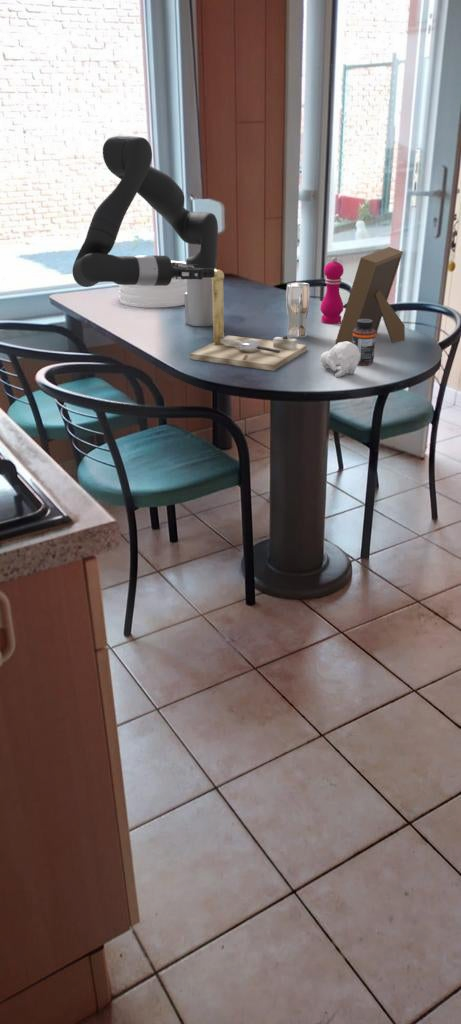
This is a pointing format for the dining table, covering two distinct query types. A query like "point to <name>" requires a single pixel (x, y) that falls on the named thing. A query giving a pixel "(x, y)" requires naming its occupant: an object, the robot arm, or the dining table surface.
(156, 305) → the plate stack
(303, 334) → the beer glass
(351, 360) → the white animal figurine
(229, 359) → the stand
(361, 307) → the photo frame
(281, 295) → the dining table surface
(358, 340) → the supplement bottle
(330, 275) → the pepper mill
